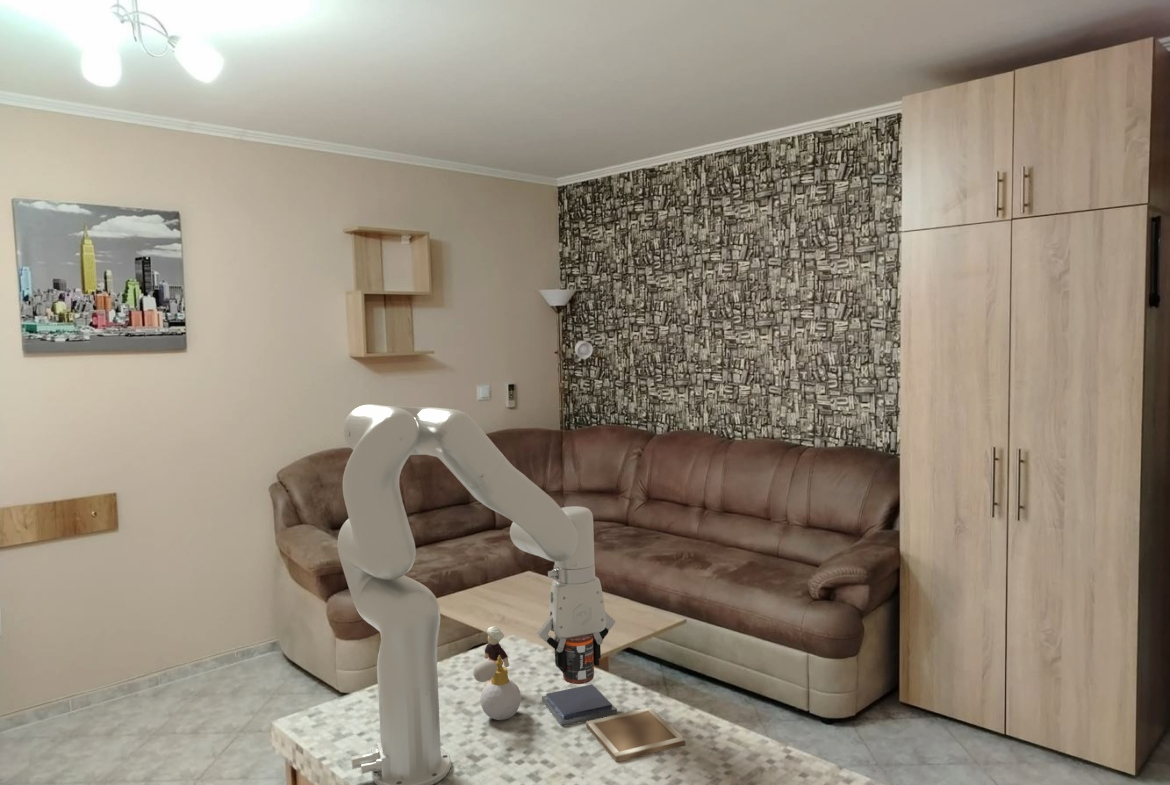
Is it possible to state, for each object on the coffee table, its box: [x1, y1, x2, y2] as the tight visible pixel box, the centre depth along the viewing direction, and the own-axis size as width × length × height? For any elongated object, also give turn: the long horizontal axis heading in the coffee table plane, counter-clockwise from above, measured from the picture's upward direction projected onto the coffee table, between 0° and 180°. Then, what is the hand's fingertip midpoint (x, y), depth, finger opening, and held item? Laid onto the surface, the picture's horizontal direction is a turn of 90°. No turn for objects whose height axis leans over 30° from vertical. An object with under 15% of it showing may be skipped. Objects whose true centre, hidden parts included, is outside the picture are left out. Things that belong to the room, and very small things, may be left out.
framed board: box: [585, 706, 686, 763], centre depth 138 cm, size 13×13×1 cm
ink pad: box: [541, 683, 618, 727], centre depth 149 cm, size 11×11×2 cm
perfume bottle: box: [472, 655, 522, 721], centre depth 145 cm, size 8×10×12 cm
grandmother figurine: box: [483, 626, 510, 688], centre depth 158 cm, size 8×4×13 cm, turn 55°
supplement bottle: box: [562, 634, 595, 685], centre depth 148 cm, size 6×6×11 cm
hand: (578, 665), depth 149 cm, fingers closed on supplement bottle, 6 cm apart
